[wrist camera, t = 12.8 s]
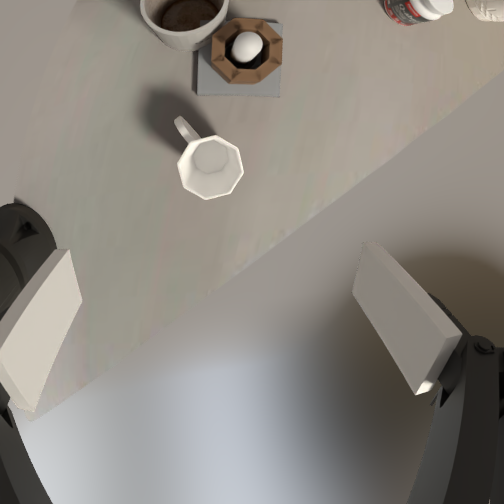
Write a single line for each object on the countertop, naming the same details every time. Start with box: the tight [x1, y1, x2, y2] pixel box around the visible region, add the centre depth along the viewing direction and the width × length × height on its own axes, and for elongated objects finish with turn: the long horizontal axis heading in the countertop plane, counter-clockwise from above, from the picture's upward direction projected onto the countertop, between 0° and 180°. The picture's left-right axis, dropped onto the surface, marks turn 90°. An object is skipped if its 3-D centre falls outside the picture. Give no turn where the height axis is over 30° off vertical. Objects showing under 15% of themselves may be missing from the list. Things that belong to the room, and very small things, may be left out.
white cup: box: [466, 0, 504, 22], centre depth 24 cm, size 8×8×10 cm
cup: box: [174, 116, 244, 200], centre depth 34 cm, size 7×10×8 cm
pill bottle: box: [384, 0, 453, 26], centre depth 26 cm, size 6×6×10 cm
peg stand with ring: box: [197, 20, 283, 97], centre depth 29 cm, size 10×10×10 cm
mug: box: [140, 0, 229, 52], centre depth 25 cm, size 12×9×10 cm
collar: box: [211, 18, 283, 85], centre depth 29 cm, size 7×7×6 cm
